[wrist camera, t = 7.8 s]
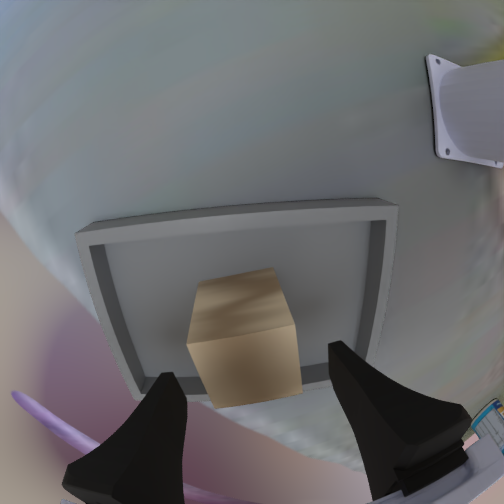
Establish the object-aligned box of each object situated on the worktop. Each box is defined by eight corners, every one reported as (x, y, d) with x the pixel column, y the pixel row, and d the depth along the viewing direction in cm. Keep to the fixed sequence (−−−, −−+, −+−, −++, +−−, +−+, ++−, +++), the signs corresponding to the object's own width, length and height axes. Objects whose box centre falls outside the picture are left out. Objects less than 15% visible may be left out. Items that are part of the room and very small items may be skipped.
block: (272, 267, 16) (295, 324, 11) (282, 327, 18) (302, 393, 12) (198, 281, 16) (186, 344, 11) (216, 340, 18) (214, 408, 12)
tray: (377, 197, 16) (398, 205, 14) (358, 357, 20) (369, 377, 18) (93, 222, 15) (74, 233, 13) (141, 378, 19) (134, 400, 17)
